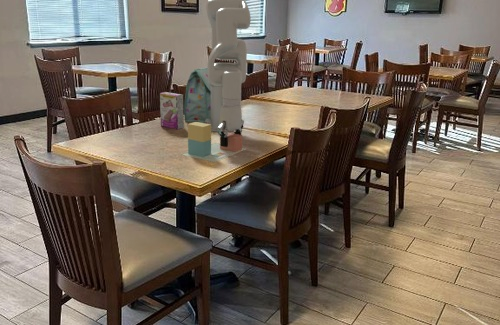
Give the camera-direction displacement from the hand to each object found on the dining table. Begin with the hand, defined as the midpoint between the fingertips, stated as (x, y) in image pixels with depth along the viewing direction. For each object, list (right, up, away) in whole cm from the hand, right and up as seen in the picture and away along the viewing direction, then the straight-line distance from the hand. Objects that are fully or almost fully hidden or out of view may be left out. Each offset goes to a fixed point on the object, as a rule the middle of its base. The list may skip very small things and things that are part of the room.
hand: (231, 143), depth 188 cm
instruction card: (-5, -5, -8) cm, 10 cm away
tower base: (-12, -4, -7) cm, 14 cm away
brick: (0, -2, +1) cm, 2 cm away
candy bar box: (-30, +9, +36) cm, 48 cm away
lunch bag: (-16, +15, +56) cm, 60 cm away
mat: (-6, -4, -3) cm, 8 cm away
